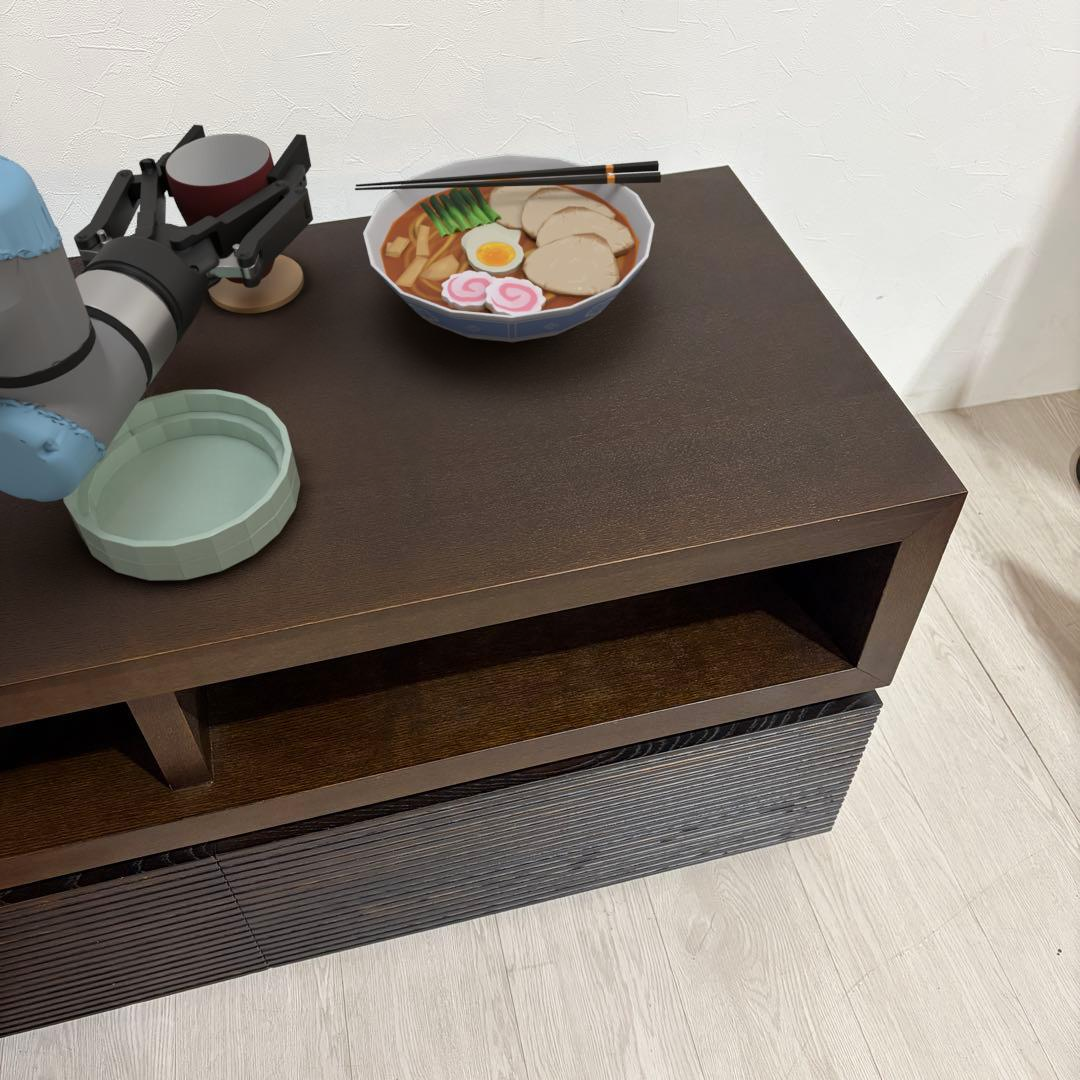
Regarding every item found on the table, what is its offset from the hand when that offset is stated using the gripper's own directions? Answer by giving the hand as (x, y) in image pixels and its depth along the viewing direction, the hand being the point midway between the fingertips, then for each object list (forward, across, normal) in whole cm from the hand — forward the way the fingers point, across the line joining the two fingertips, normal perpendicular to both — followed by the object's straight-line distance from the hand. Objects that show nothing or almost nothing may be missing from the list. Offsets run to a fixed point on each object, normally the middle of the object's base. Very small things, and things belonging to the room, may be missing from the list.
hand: (252, 145), depth 89 cm
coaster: (-5, 0, -10) cm, 11 cm away
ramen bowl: (-3, +22, -11) cm, 25 cm away
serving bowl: (-30, +5, -10) cm, 32 cm away
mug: (-5, 0, -8) cm, 9 cm away
